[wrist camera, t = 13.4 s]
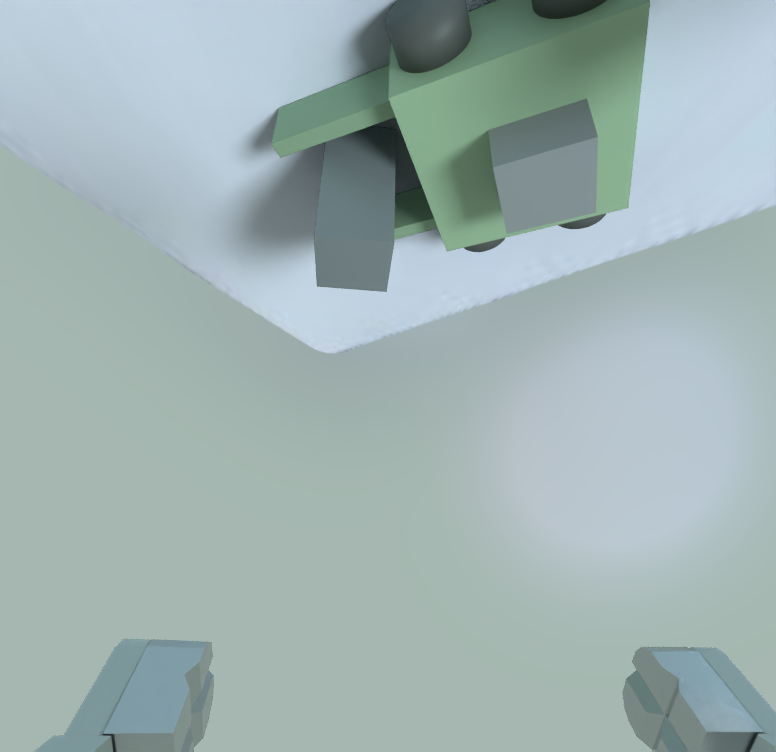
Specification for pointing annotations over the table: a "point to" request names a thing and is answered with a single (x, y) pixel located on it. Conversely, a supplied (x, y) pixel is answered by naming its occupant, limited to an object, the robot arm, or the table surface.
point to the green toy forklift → (497, 113)
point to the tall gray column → (356, 211)
